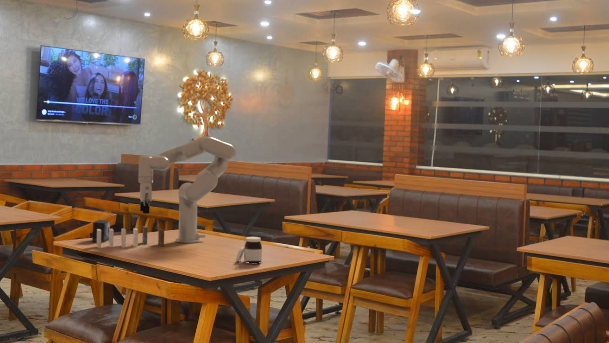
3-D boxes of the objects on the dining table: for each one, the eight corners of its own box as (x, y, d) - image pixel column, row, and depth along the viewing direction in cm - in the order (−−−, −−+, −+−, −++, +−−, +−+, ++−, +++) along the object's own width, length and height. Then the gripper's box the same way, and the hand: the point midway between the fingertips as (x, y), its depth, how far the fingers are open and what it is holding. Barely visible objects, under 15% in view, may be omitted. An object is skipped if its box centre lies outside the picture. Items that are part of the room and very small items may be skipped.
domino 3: (124, 245, 366) (124, 228, 366) (125, 247, 361) (125, 230, 361) (121, 245, 366) (121, 228, 365) (122, 247, 361) (122, 230, 360)
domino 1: (99, 246, 362) (100, 229, 361) (100, 248, 357) (101, 230, 357) (96, 246, 361) (96, 229, 361) (97, 248, 357) (97, 230, 356)
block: (161, 244, 375) (161, 228, 374) (164, 246, 367) (164, 231, 367) (158, 244, 374) (158, 228, 373) (160, 246, 366) (161, 231, 366)
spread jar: (263, 264, 327) (264, 239, 327) (238, 265, 324) (239, 239, 323) (257, 259, 339) (258, 235, 338) (233, 260, 336) (234, 235, 335)
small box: (104, 242, 374) (104, 222, 373) (91, 242, 374) (92, 222, 373) (110, 239, 384) (110, 220, 384) (98, 239, 384) (98, 219, 384)
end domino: (145, 242, 378) (145, 225, 378) (147, 244, 373) (147, 227, 373) (142, 242, 378) (142, 226, 377) (144, 244, 373) (144, 227, 372)
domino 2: (112, 246, 364) (112, 228, 364) (113, 247, 359) (113, 230, 359) (108, 246, 364) (109, 228, 363) (110, 247, 359) (110, 230, 358)
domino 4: (136, 245, 368) (136, 228, 368) (137, 247, 364) (137, 229, 363) (133, 245, 368) (133, 228, 367) (134, 247, 363) (134, 229, 363)
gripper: (155, 181, 367) (154, 214, 368) (150, 178, 383) (149, 210, 384) (140, 180, 364) (139, 214, 365) (136, 178, 380) (135, 210, 381)
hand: (144, 212), depth 374 cm, fingers open, 9 cm apart
